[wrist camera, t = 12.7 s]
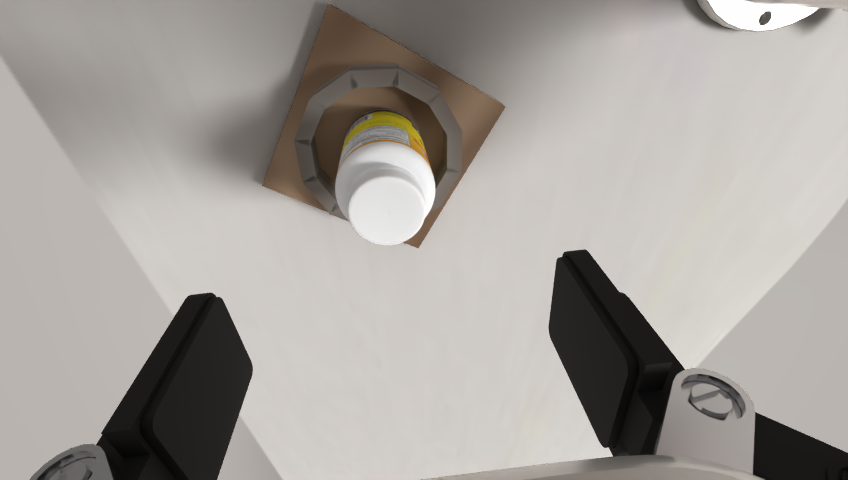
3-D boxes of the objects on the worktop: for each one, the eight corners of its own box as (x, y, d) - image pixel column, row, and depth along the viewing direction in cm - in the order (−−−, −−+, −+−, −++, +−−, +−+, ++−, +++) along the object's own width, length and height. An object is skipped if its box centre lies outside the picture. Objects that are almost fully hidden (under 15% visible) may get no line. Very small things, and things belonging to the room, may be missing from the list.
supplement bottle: (416, 186, 31) (430, 263, 22) (342, 176, 30) (327, 254, 21) (429, 112, 28) (452, 169, 19) (347, 99, 27) (333, 153, 18)
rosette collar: (501, 103, 29) (513, 114, 27) (417, 241, 35) (420, 262, 32) (330, 4, 25) (324, 6, 22) (265, 180, 30) (255, 197, 28)
